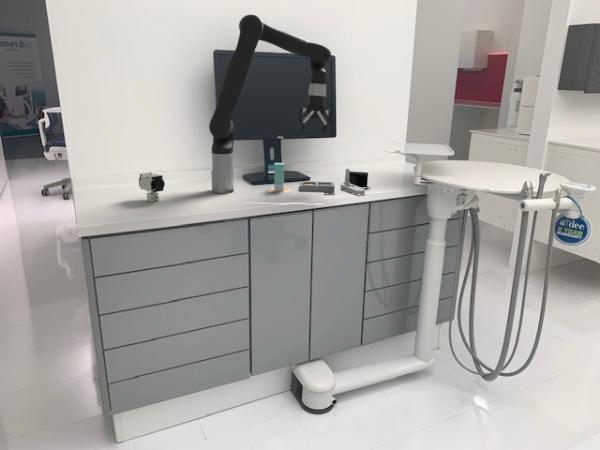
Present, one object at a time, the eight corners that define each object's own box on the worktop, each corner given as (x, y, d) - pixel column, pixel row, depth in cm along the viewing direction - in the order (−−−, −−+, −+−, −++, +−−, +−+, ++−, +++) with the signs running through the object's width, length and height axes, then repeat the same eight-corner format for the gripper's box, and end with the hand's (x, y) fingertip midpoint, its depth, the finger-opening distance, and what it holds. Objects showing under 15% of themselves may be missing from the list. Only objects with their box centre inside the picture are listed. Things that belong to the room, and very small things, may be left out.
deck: (267, 194, 211) (267, 192, 211) (268, 190, 219) (268, 188, 218) (289, 194, 211) (289, 192, 211) (290, 190, 218) (290, 188, 218)
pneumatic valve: (149, 197, 201) (147, 169, 198) (166, 202, 194) (164, 173, 191) (138, 199, 197) (135, 171, 194) (154, 204, 190) (152, 175, 187)
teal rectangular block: (274, 191, 212) (274, 164, 209) (274, 189, 216) (275, 162, 213) (283, 191, 212) (283, 164, 209) (283, 189, 216) (284, 163, 213)
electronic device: (359, 175, 209) (339, 168, 221) (357, 196, 212) (338, 188, 224) (368, 174, 212) (349, 167, 224) (366, 195, 215) (347, 187, 227)
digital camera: (344, 187, 228) (344, 172, 226) (345, 185, 233) (346, 170, 231) (366, 189, 225) (367, 174, 223) (367, 186, 230) (368, 172, 228)
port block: (299, 193, 214) (299, 184, 213) (299, 188, 223) (300, 180, 222) (334, 193, 214) (334, 185, 213) (333, 189, 223) (333, 181, 222)
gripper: (300, 93, 204) (297, 131, 208) (333, 96, 204) (329, 134, 208) (301, 93, 212) (298, 131, 215) (333, 96, 211) (329, 133, 215)
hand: (313, 132), depth 212 cm, fingers open, 8 cm apart
